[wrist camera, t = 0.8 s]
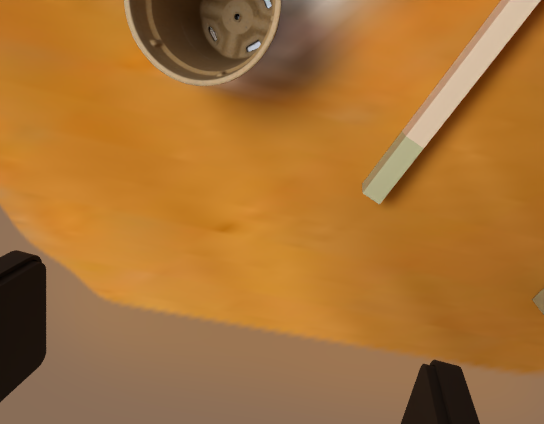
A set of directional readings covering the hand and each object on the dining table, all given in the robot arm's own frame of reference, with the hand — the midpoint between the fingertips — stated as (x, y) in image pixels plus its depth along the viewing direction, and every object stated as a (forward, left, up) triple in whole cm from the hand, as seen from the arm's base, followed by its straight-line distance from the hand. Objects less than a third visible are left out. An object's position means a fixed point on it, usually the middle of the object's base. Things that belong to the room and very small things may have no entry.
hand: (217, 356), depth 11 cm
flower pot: (-5, -11, -27) cm, 29 cm away
